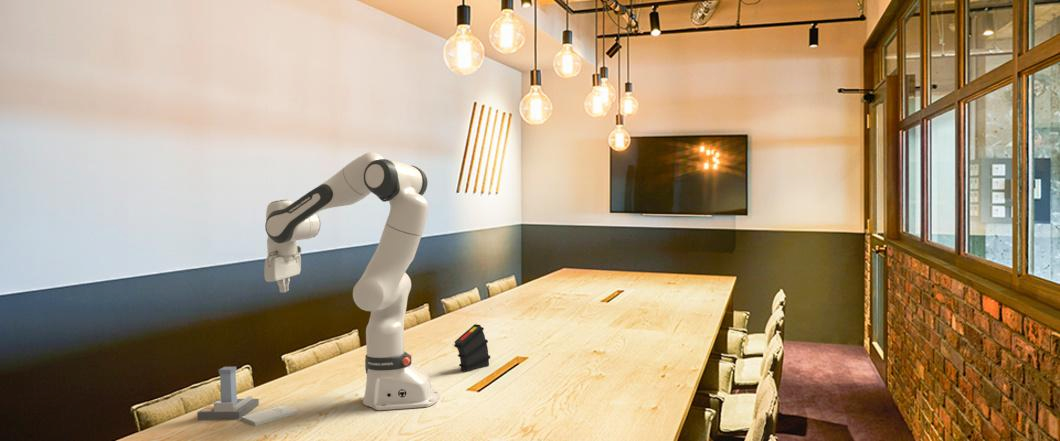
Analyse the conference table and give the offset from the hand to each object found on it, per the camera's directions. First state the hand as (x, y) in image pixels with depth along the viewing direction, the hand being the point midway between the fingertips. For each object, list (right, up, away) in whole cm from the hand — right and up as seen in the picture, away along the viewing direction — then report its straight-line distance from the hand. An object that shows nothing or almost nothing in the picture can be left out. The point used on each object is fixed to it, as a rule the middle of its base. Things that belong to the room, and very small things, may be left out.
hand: (284, 292), depth 219 cm
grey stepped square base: (-7, -32, -25) cm, 41 cm away
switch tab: (-5, -30, -28) cm, 41 cm away
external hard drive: (+7, -33, -30) cm, 45 cm away
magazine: (+60, -29, +15) cm, 69 cm away
